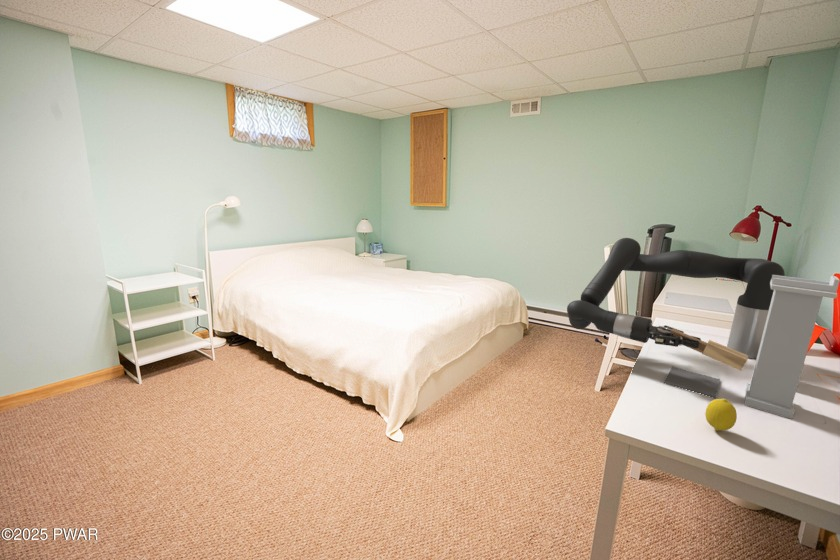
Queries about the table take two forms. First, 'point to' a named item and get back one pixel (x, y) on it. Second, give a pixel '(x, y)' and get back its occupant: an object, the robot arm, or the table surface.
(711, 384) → the mat
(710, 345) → the bar
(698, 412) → the table surface
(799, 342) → the stand
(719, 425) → the lemon
